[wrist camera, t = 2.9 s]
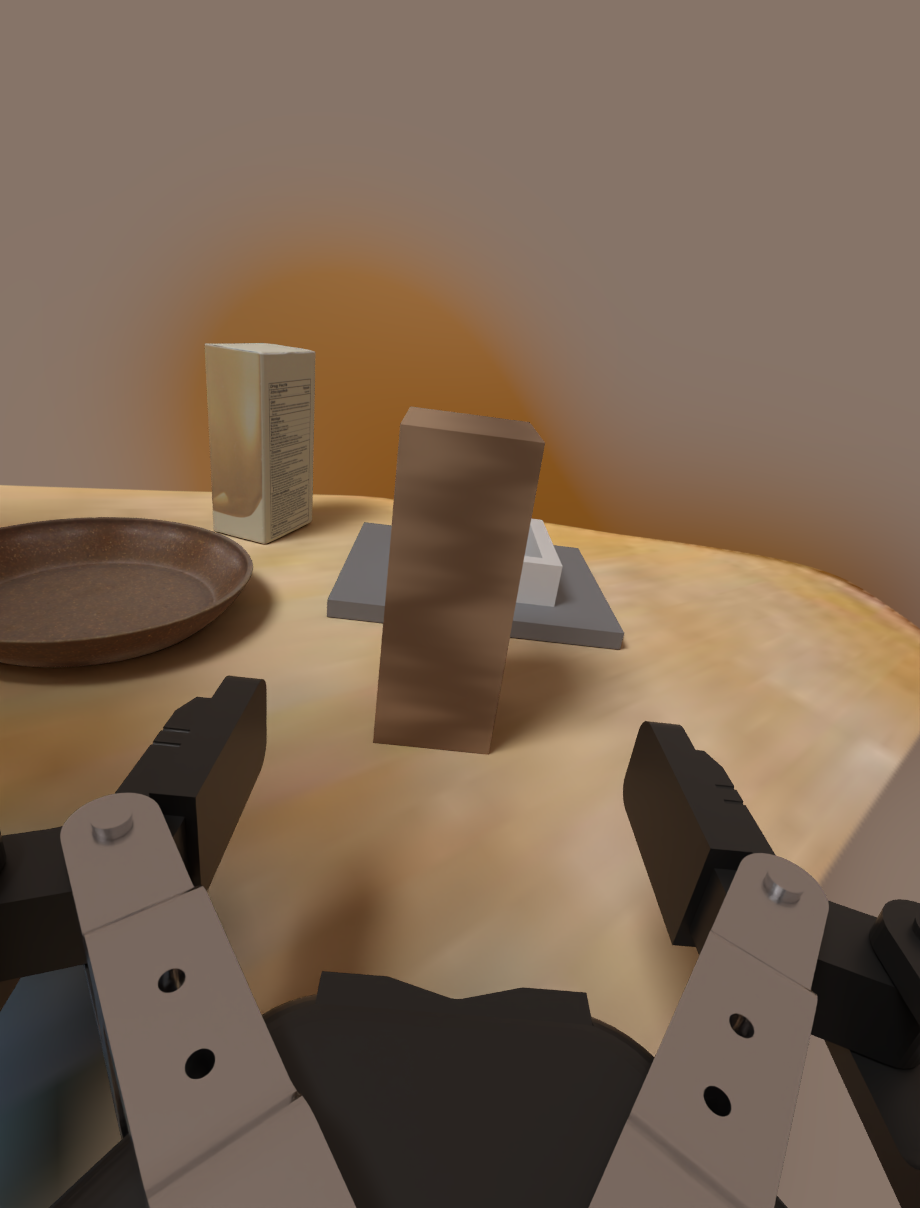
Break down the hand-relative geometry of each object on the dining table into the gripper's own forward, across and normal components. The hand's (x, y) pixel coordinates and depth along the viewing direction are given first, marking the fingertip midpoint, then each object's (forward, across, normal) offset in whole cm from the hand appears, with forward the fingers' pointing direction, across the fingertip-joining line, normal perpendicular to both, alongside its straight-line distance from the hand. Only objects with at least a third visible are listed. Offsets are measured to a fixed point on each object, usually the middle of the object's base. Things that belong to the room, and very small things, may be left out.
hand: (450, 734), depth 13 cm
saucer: (+17, +17, +8) cm, 25 cm away
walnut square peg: (+11, 0, +7) cm, 13 cm away
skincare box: (+32, +13, +7) cm, 35 cm away
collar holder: (+26, -2, +7) cm, 27 cm away
